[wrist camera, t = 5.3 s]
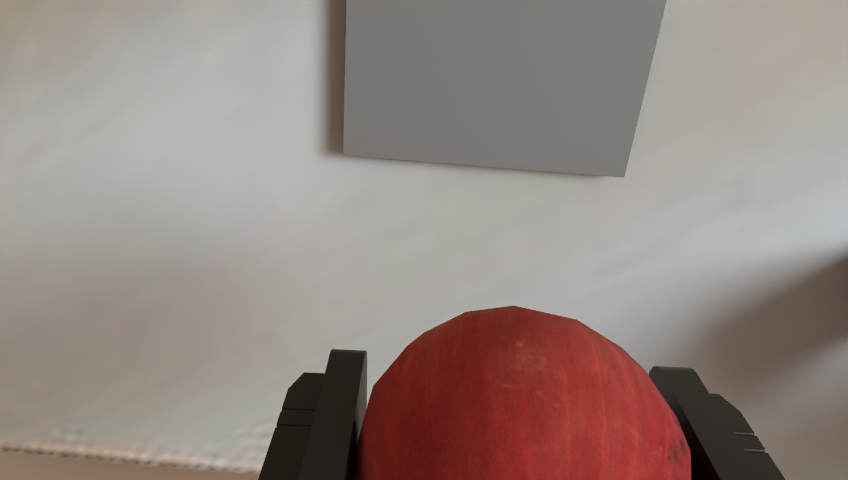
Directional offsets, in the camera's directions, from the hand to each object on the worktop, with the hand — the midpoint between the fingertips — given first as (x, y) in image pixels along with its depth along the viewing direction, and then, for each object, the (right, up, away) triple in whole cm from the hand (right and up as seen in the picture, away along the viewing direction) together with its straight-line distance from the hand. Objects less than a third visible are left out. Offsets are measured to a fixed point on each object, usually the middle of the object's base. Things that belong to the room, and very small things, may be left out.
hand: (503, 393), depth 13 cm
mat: (+1, +12, +11) cm, 16 cm away
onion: (0, +1, +2) cm, 2 cm away
